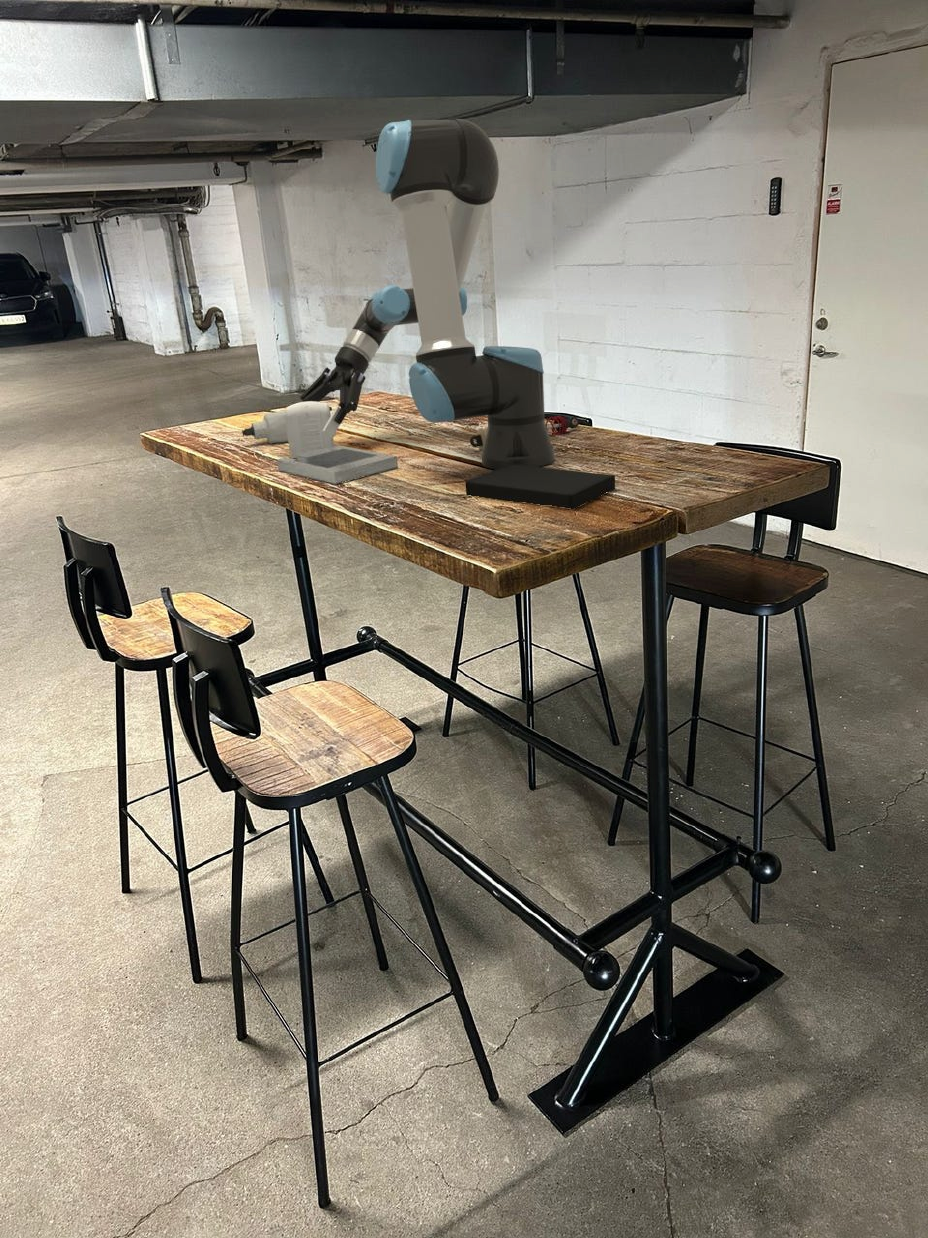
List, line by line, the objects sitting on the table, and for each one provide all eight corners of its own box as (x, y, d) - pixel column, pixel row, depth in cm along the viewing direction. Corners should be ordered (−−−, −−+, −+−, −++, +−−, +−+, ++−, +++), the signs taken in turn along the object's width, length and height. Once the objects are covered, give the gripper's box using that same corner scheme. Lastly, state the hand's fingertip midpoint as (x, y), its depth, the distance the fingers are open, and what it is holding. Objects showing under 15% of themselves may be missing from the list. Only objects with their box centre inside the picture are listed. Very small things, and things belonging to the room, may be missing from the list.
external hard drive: (573, 512, 150) (572, 495, 149) (466, 497, 164) (464, 481, 163) (615, 491, 160) (615, 474, 159) (511, 478, 174) (510, 463, 173)
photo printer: (335, 451, 209) (328, 398, 204) (335, 455, 205) (328, 401, 200) (291, 456, 208) (283, 402, 203) (290, 460, 204) (282, 405, 199)
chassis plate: (398, 467, 188) (396, 456, 187) (335, 484, 179) (334, 472, 178) (338, 455, 204) (337, 445, 203) (278, 470, 194) (276, 459, 193)
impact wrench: (228, 424, 239) (241, 414, 216) (310, 412, 247) (332, 401, 224) (235, 454, 240) (248, 448, 217) (316, 442, 248) (338, 434, 225)
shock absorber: (569, 414, 212) (462, 434, 198) (580, 409, 208) (472, 428, 194) (574, 434, 212) (468, 455, 198) (585, 428, 208) (478, 450, 194)
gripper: (398, 367, 201) (353, 446, 198) (336, 362, 219) (293, 434, 216) (377, 346, 196) (330, 427, 193) (315, 342, 214) (271, 416, 211)
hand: (310, 431), depth 205 cm, fingers open, 13 cm apart
